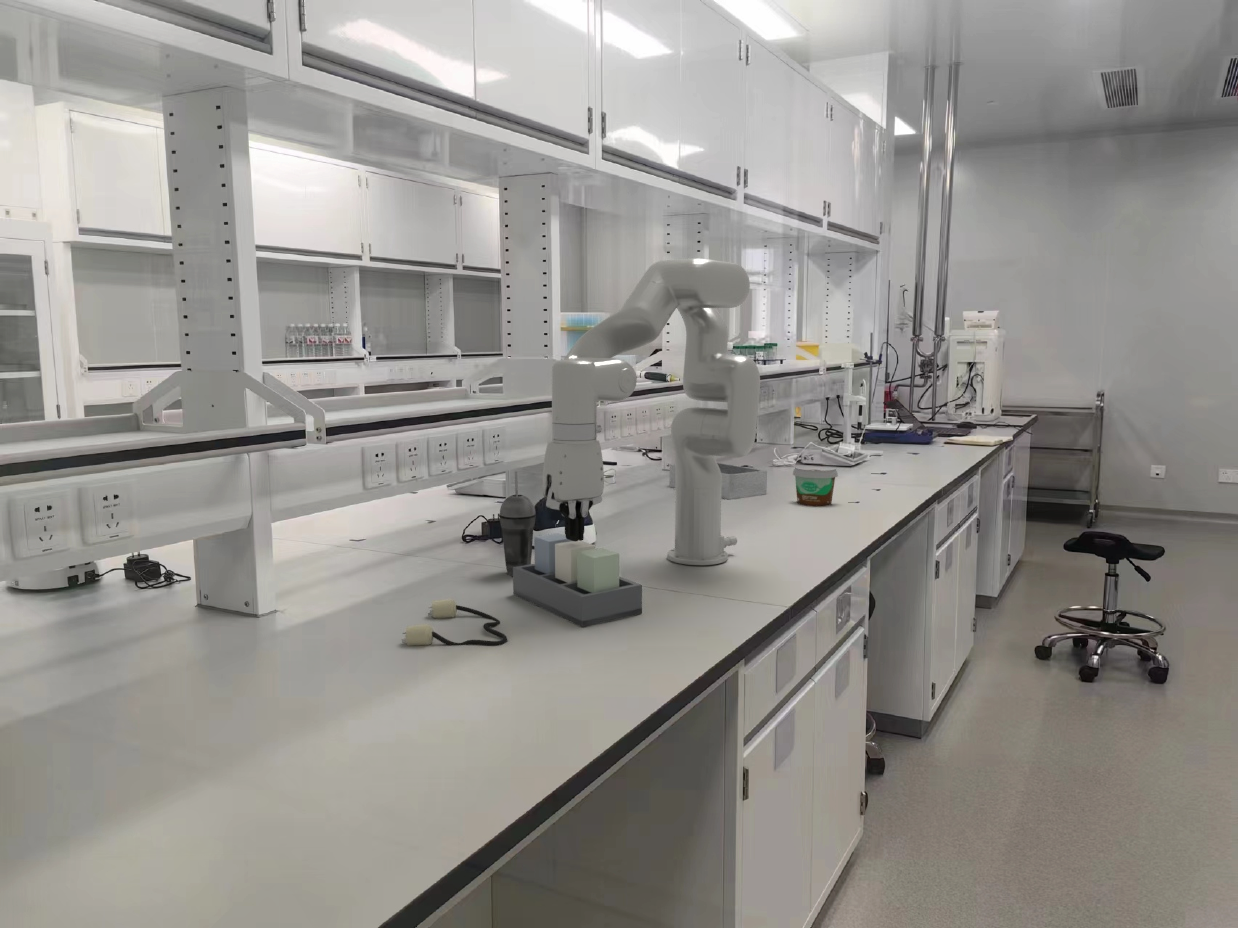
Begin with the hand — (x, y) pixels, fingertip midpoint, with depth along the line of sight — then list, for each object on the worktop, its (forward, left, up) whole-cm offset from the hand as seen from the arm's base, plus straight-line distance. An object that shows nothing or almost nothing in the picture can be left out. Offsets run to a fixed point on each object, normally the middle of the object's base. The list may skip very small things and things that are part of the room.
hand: (574, 539), depth 151 cm
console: (0, 0, -12) cm, 12 cm away
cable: (+22, 0, -12) cm, 25 cm away
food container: (-104, -39, -12) cm, 112 cm away
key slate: (0, -7, -7) cm, 10 cm away
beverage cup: (-2, -24, -12) cm, 26 cm away
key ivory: (0, 0, -7) cm, 7 cm away
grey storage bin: (-98, -72, -12) cm, 122 cm away
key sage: (0, +7, -7) cm, 10 cm away
